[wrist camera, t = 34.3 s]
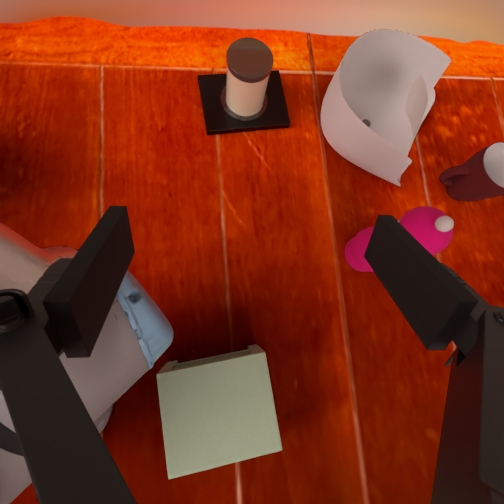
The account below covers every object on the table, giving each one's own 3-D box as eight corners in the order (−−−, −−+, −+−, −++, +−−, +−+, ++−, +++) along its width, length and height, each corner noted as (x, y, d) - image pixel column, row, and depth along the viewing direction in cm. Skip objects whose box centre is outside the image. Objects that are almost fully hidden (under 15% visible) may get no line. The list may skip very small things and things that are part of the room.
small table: (177, 447, 42) (168, 479, 35) (166, 362, 44) (155, 374, 36) (271, 424, 44) (282, 450, 37) (257, 344, 46) (265, 351, 38)
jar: (228, 118, 51) (230, 79, 43) (222, 83, 52) (223, 38, 44) (267, 115, 52) (277, 77, 44) (260, 80, 53) (269, 36, 45)
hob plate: (207, 135, 52) (206, 130, 50) (198, 80, 53) (197, 74, 52) (288, 127, 54) (290, 123, 53) (277, 75, 56) (279, 69, 54)
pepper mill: (341, 231, 51) (418, 185, 32) (380, 236, 52) (479, 194, 33) (340, 272, 50) (419, 250, 30) (380, 276, 51) (483, 258, 31)
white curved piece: (337, 67, 57) (367, 7, 46) (424, 112, 58) (475, 63, 46) (296, 149, 53) (318, 106, 42) (390, 197, 54) (438, 167, 42)
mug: (427, 210, 54) (473, 189, 44) (420, 169, 56) (464, 140, 46) (478, 210, 55) (534, 189, 46) (471, 170, 57) (523, 142, 47)
